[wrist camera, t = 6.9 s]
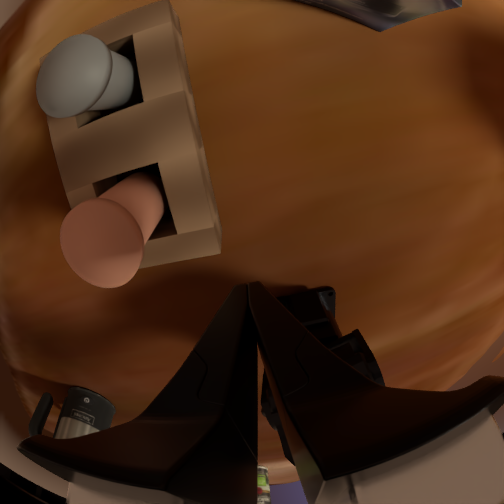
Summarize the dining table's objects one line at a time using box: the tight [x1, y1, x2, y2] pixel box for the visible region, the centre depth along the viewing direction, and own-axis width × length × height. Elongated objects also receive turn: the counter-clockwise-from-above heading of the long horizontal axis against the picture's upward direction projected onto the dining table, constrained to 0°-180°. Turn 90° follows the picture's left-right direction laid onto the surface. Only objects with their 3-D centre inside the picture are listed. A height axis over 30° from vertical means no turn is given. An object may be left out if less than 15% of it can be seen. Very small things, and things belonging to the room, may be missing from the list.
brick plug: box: [60, 172, 168, 288], centre depth 15 cm, size 5×5×8 cm
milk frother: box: [29, 387, 116, 439], centre depth 30 cm, size 14×16×15 cm
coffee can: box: [257, 466, 271, 504], centre depth 49 cm, size 10×10×14 cm
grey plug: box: [36, 34, 143, 118], centre depth 12 cm, size 5×5×8 cm
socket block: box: [40, 0, 222, 269], centre depth 16 cm, size 18×10×4 cm, turn 10°
